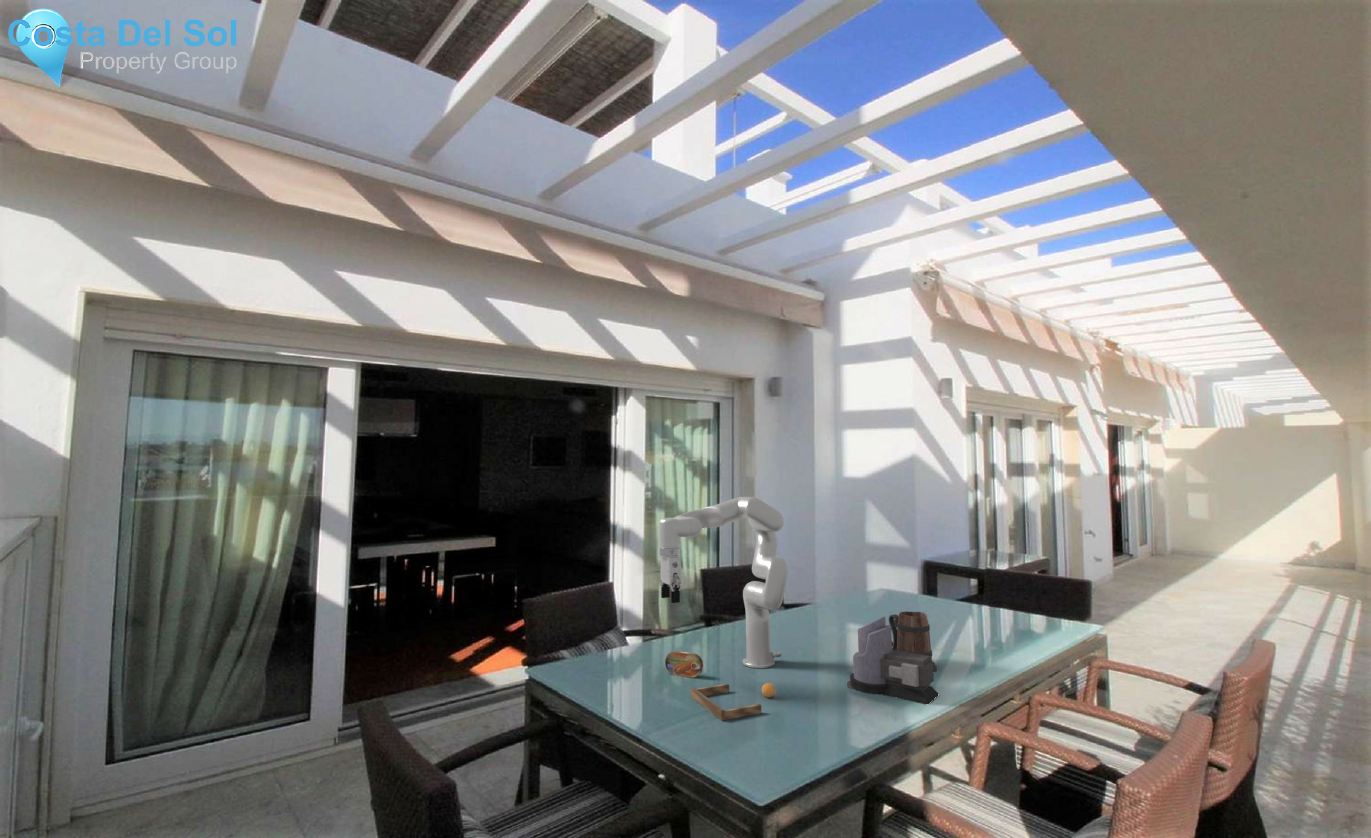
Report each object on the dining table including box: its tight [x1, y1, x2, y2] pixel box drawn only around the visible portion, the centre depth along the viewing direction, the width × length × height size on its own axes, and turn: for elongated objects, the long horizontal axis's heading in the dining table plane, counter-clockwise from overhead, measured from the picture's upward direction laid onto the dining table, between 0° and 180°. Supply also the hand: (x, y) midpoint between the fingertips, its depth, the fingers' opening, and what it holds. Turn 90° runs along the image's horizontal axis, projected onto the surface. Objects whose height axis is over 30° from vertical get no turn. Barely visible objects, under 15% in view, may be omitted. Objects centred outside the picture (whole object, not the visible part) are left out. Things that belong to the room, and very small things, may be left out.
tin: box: [664, 650, 704, 679], centre depth 231 cm, size 15×3×8 cm, turn 62°
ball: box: [761, 682, 776, 698], centre depth 207 cm, size 4×4×4 cm
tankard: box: [888, 610, 939, 673], centre depth 242 cm, size 24×17×20 cm
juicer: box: [846, 615, 939, 705], centre depth 214 cm, size 30×16×24 cm, turn 50°
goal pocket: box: [690, 683, 762, 722], centre depth 200 cm, size 14×22×3 cm, turn 24°
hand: (670, 600), depth 225 cm, fingers open, 9 cm apart
